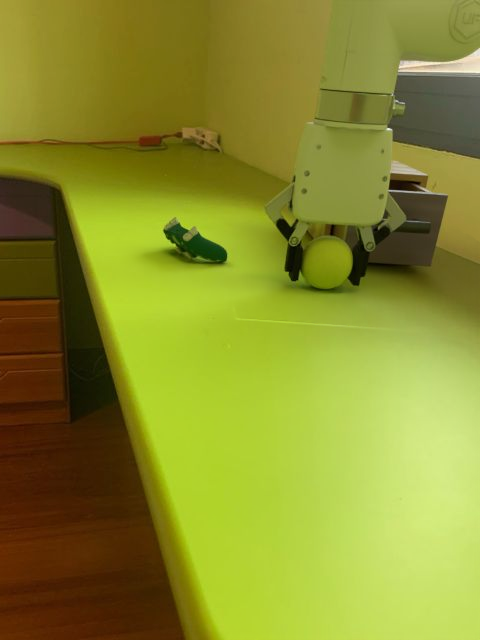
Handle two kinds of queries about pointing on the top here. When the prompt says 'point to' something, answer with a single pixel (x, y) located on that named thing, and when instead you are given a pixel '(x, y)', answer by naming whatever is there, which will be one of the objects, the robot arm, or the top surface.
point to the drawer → (405, 227)
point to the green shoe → (193, 242)
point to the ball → (326, 262)
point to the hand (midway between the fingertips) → (323, 279)
